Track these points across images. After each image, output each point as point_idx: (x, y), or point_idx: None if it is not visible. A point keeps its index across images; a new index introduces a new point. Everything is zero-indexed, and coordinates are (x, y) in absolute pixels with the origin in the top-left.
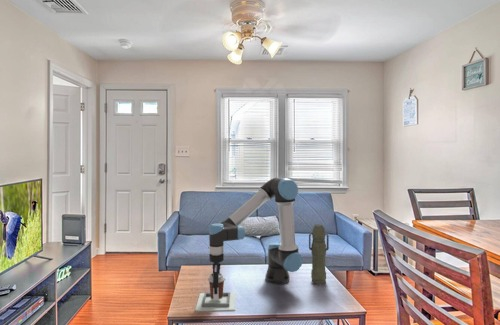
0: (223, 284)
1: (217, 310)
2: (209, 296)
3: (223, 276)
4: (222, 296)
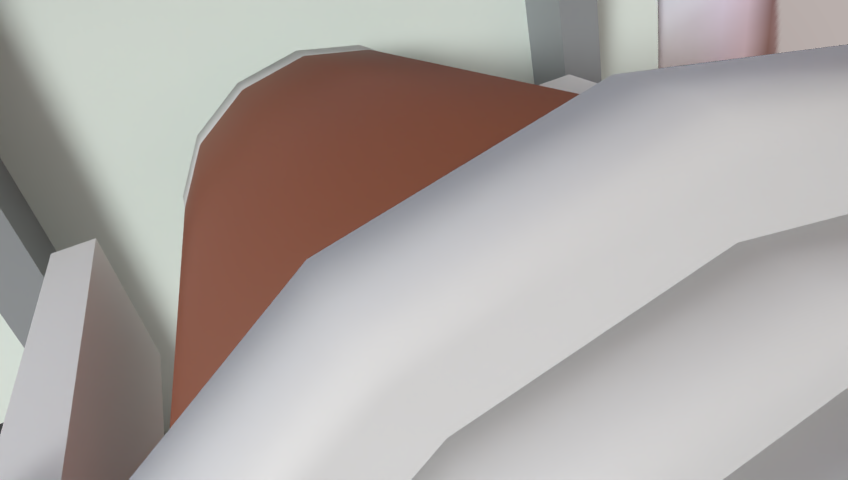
0: (475, 105)
1: (650, 9)
2: (165, 396)
3: (755, 418)
4: (337, 52)
